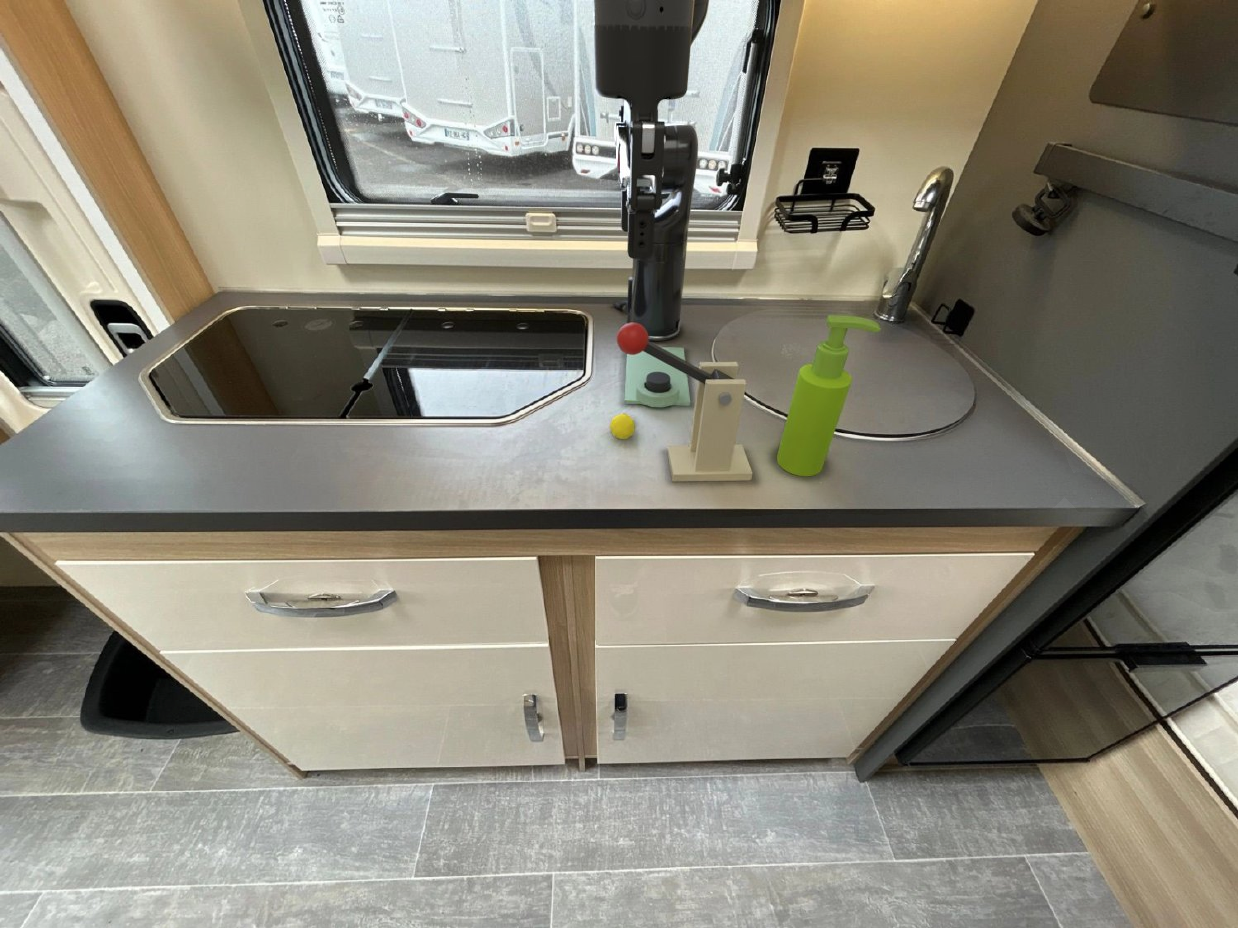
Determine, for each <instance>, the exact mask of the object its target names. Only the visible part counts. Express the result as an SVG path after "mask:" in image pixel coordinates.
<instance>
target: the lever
mask: <svg viewBox="0 0 1238 928" xmlns="http://www.w3.org/2000/svg"><path fill="white" fill-rule="evenodd" d="M616 342H617V346H618V348H619V349H620V350H621V352H623V353H624V354H626V355H627V354H629V355H636V354H639V353H641V352H642V351H644V352H646V353H647V354H649V355H651V356H653V357H655V358H657V359H659V360H661V361H662V362H664V363H666V364H668V365H670V366H672V367H674V368H675V369H677V370H679V371H681V372H683V373H685V374H687V376H688V377H690V378H692V379H694V380H696V381H697V382H698V381H700V382H702V383H703V385H704V388H705V381H706V380H718V379H733V378H732V377H730V376H728V375H726V374H724V373H723V372H721V371H719V370H717V369H715V370H714V371H713V372H712V374H711V375H710V374H709V373H707V372H705V371H703V370H701V369H699V367H698V366H695V365H694V364H692V363H691V362H689V361H687V360H686V359H685V360H683V359H681V358H679V357H677V356H676V355H674V354H672V353H670V352H668V351H667V350H665V349H663V348H661V347H662V346H660V345H658V344H655V343H654V342H653V341H650V340H648V333H647V331H646V329H645V328H644V327H643V326H642V325H640V324H638V323H627V322H626V323H625V324H624V325H622V326H621V327H620V329H619V330H618V332H617V334H616Z"/></svg>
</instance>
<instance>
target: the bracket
mask: <svg viewBox="0 0 1238 928" xmlns="http://www.w3.org/2000/svg"><path fill="white" fill-rule="evenodd" d="M739 366H740V365H739V363H738V362H737V361H700V362H699V367H698V368H699V369H701V370H703V371H705V372H707V373H709V374H710V375H711V374H712V372H713V371H714V370H715V369H717V370H719V371H721V372H723V373H724V374H726V375H728V376H730V377H732V378H733V379H718V380H706V381H705V388H704V385H703V383H702V382H700V381H698V380H697V383H696V390H695V398H694V407H693V415H692V423H691V431H690V438H689V445H688V444H687V445H685V444H683V445H667V449H666V451H667V458H668V465H669V470H670V475H671V480H672V483H673V482H676V483H677V482H678V483H679V482H729V481H732V482H734V481H735V482H737V481H738V482H739V481H752V478H753V470H752V468H751V465H750V462H749V460H748V457H747V455H746V452H745V449H744V447H743V444H736V441H737V440H736V439H737V434H738V429H739V425H740V419H741V414H742V410H743V409H742V408H743V403H744V398H745V392H746V387H747V381H746V380H745V378H741V379H740V378H739V379H738V378H737V377H738V371H739Z"/></svg>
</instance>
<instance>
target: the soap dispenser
mask: <svg viewBox="0 0 1238 928" xmlns="http://www.w3.org/2000/svg"><path fill="white" fill-rule="evenodd" d="M826 324H827V328H830V330H829V333H828V336H827V339H826V340H823V341H820V342H818V344H817V347H816V349H815V350H816V351H815V354H814V358H813V362H812V363H811V362H810V363H806V364H803V365H802V366H801V367H800V368H799V371H798V375H797V378H796V382H795V386H794V390H793V394H792V398H791V400H790V401H791V402H790V405H789V409H788V413H787V416H786V420H785V423H784V428H783V431H782V435H781V439H780V443H779V447H778V451H777V454H776V462H777V464H778V465H779V467H780V468H782V469H783V470H784V471H786V472H787V473H789V474H791V475H795V476H797V477H798V476H799V477H813V476H816V475H818V474H820V472H821V471H822V470H823V467H824V464H825V462H826V458H827V456H828V452H829V450H830V447H831V443H832V441H833V438H834V435H835V432H836V429H837V426H838V423H839V420H840V417H841V414H842V411H843V408H844V405H845V402H846V399H847V397H848V393H849V390H850V387H851V384H852V381H853V377H852V376H851V374H850V373H849V372H848V371H847V370H845V369H844V368H845V365H846V363H847V359H848V356H849V353H850V348H849V347H848V345H846V344H845V343H844V342H845V339H846V336H847V332H848V329H854V330H855V329H857V330H864V331H868V332H871V333H878V332H880V331H881V330H882V329H881V327H880V324H879V323H878V321H875V320H872V319H869V318H866V317H862V316H855V315H841V314H840V315H835V314H834V315H833V314H832V315H831V314H830V315H829V314H827V317H826Z"/></svg>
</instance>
